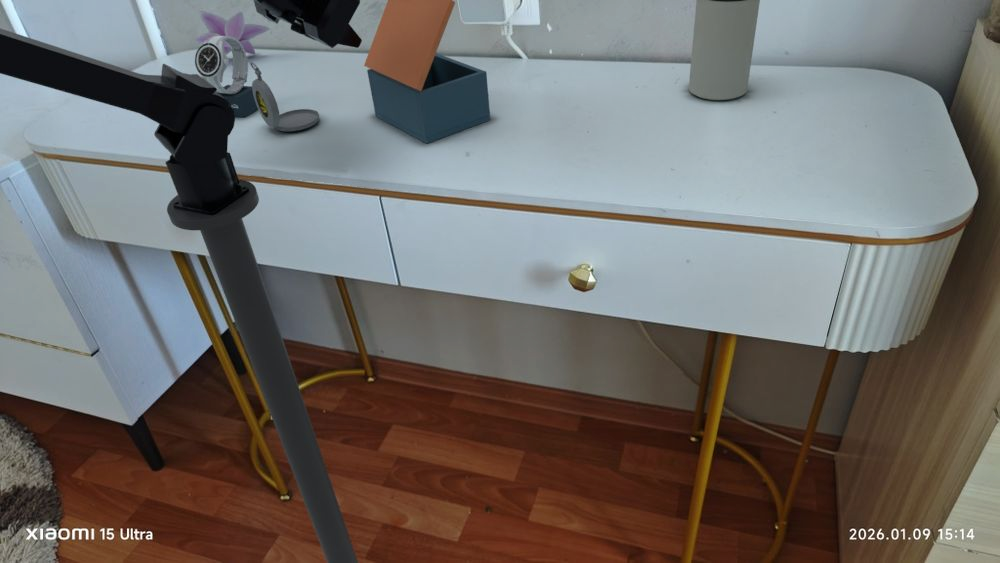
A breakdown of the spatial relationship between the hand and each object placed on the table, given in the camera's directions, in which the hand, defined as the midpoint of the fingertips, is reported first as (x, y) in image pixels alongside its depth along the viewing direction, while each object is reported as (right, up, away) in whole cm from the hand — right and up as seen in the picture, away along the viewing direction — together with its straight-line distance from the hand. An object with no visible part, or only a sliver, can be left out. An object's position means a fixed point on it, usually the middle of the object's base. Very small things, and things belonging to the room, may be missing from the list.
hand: (359, 43), depth 86 cm
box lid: (+6, +2, +4) cm, 7 cm away
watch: (-22, -4, +19) cm, 30 cm away
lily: (-30, +10, +40) cm, 51 cm away
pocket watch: (-13, -8, +13) cm, 20 cm away
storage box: (+8, -7, +12) cm, 15 cm away
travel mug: (+48, -3, +12) cm, 50 cm away
